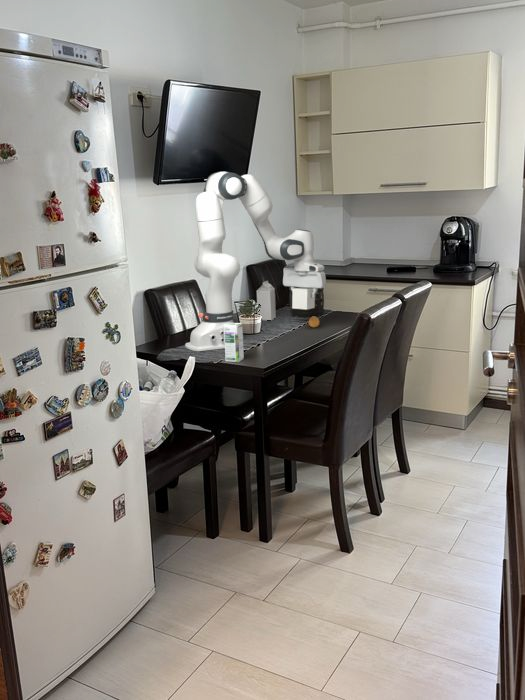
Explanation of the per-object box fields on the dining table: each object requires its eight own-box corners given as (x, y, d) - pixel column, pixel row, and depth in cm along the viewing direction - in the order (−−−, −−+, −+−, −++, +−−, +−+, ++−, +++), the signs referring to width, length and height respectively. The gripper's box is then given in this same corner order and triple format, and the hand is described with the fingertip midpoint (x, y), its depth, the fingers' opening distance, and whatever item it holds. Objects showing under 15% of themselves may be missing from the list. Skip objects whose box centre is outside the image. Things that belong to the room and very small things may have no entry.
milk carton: (257, 320, 335) (256, 282, 331) (262, 317, 342) (261, 280, 337) (271, 321, 333) (269, 282, 328) (275, 318, 339) (274, 280, 335)
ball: (318, 315, 316) (319, 325, 317) (307, 315, 316) (308, 326, 317) (319, 317, 311) (320, 328, 313) (308, 318, 311) (309, 329, 313)
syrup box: (225, 361, 262) (222, 325, 259) (231, 357, 268) (229, 321, 264) (238, 362, 260) (236, 325, 257) (244, 358, 266) (242, 322, 262)
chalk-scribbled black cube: (314, 319, 333) (313, 287, 329) (283, 316, 342) (282, 285, 338) (331, 312, 347) (331, 282, 343) (301, 310, 357) (300, 280, 353)
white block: (306, 309, 299) (307, 289, 298) (292, 308, 303) (292, 288, 302) (314, 307, 306) (314, 288, 304) (299, 306, 309) (300, 287, 308)
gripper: (280, 266, 303) (280, 296, 307) (321, 268, 293) (321, 299, 296) (286, 264, 309) (287, 294, 312) (327, 266, 298) (327, 297, 301)
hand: (304, 297), depth 304 cm, fingers closed on white block, 7 cm apart
